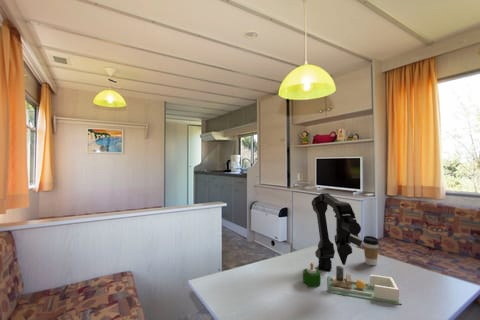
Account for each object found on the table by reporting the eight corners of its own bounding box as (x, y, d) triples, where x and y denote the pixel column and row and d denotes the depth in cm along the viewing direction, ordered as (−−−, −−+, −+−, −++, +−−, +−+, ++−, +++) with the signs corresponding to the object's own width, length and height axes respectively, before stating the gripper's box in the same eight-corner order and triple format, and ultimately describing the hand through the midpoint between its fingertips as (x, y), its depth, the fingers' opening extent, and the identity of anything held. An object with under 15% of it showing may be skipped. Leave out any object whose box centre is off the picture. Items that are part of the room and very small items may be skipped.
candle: (321, 288, 115) (321, 267, 115) (303, 286, 116) (303, 265, 116) (319, 279, 123) (319, 260, 123) (302, 278, 125) (302, 258, 125)
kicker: (333, 287, 114) (333, 269, 114) (332, 280, 121) (332, 263, 121) (351, 290, 111) (351, 272, 111) (350, 282, 118) (350, 265, 118)
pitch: (328, 292, 111) (328, 280, 111) (327, 277, 125) (327, 267, 125) (401, 304, 101) (401, 292, 101) (392, 287, 116) (392, 275, 116)
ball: (356, 290, 112) (356, 281, 112) (355, 285, 116) (355, 277, 116) (365, 291, 111) (365, 283, 111) (364, 287, 115) (364, 279, 115)
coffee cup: (375, 260, 146) (375, 236, 146) (381, 266, 137) (381, 240, 137) (360, 260, 147) (360, 235, 147) (366, 266, 138) (366, 240, 138)
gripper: (364, 236, 105) (364, 271, 105) (357, 225, 123) (357, 255, 123) (337, 233, 109) (337, 268, 109) (334, 223, 127) (334, 253, 127)
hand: (342, 260), depth 117 cm, fingers open, 9 cm apart
